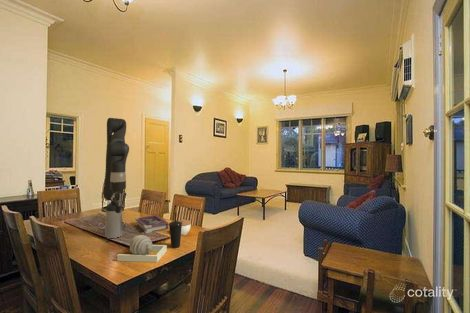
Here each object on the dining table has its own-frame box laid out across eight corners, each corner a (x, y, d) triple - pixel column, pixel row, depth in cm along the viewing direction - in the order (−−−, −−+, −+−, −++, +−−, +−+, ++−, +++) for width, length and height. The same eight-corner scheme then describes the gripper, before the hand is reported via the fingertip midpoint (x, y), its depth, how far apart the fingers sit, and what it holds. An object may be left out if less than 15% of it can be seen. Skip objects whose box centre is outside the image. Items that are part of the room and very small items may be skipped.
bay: (117, 260, 126) (117, 254, 126) (130, 249, 141) (130, 244, 141) (157, 262, 125) (157, 256, 125) (166, 250, 139) (166, 245, 139)
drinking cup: (169, 244, 149) (169, 210, 148) (183, 244, 149) (183, 210, 149) (167, 249, 141) (167, 214, 140) (181, 249, 142) (181, 213, 141)
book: (134, 224, 188) (134, 218, 188) (156, 221, 198) (156, 214, 198) (145, 234, 168) (145, 226, 168) (168, 229, 178) (168, 222, 177)
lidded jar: (187, 236, 162) (187, 222, 162) (171, 235, 164) (171, 221, 164) (193, 231, 172) (193, 217, 172) (178, 230, 174) (178, 216, 174)
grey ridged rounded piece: (140, 249, 140) (140, 230, 140) (160, 257, 131) (160, 236, 130) (123, 256, 132) (122, 235, 131) (142, 265, 122) (142, 242, 122)
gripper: (118, 178, 141) (118, 209, 142) (104, 181, 128) (104, 215, 129) (131, 179, 141) (130, 210, 141) (118, 182, 127) (118, 216, 128)
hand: (118, 212), depth 135 cm, fingers closed
